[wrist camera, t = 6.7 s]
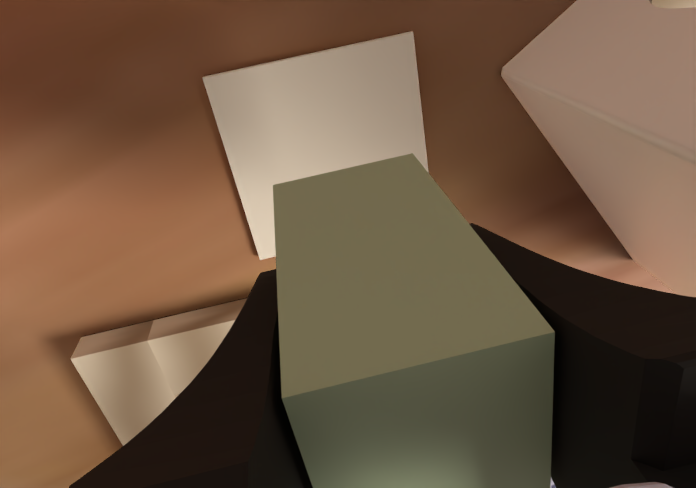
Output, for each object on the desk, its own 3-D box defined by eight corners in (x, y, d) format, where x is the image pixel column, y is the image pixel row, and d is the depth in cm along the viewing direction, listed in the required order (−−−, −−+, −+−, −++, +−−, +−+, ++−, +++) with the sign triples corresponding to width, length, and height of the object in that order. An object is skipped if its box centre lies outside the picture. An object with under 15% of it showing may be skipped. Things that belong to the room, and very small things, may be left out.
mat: (411, 31, 19) (413, 32, 19) (431, 216, 23) (434, 219, 23) (203, 76, 19) (202, 78, 19) (260, 256, 23) (259, 259, 23)
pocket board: (333, 277, 24) (337, 295, 23) (372, 444, 30) (378, 466, 29) (81, 337, 24) (70, 358, 22) (171, 494, 29) (167, 519, 28)
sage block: (412, 153, 14) (554, 331, 7) (427, 270, 16) (549, 499, 9) (272, 184, 14) (281, 397, 7) (304, 299, 16) (336, 554, 9)
